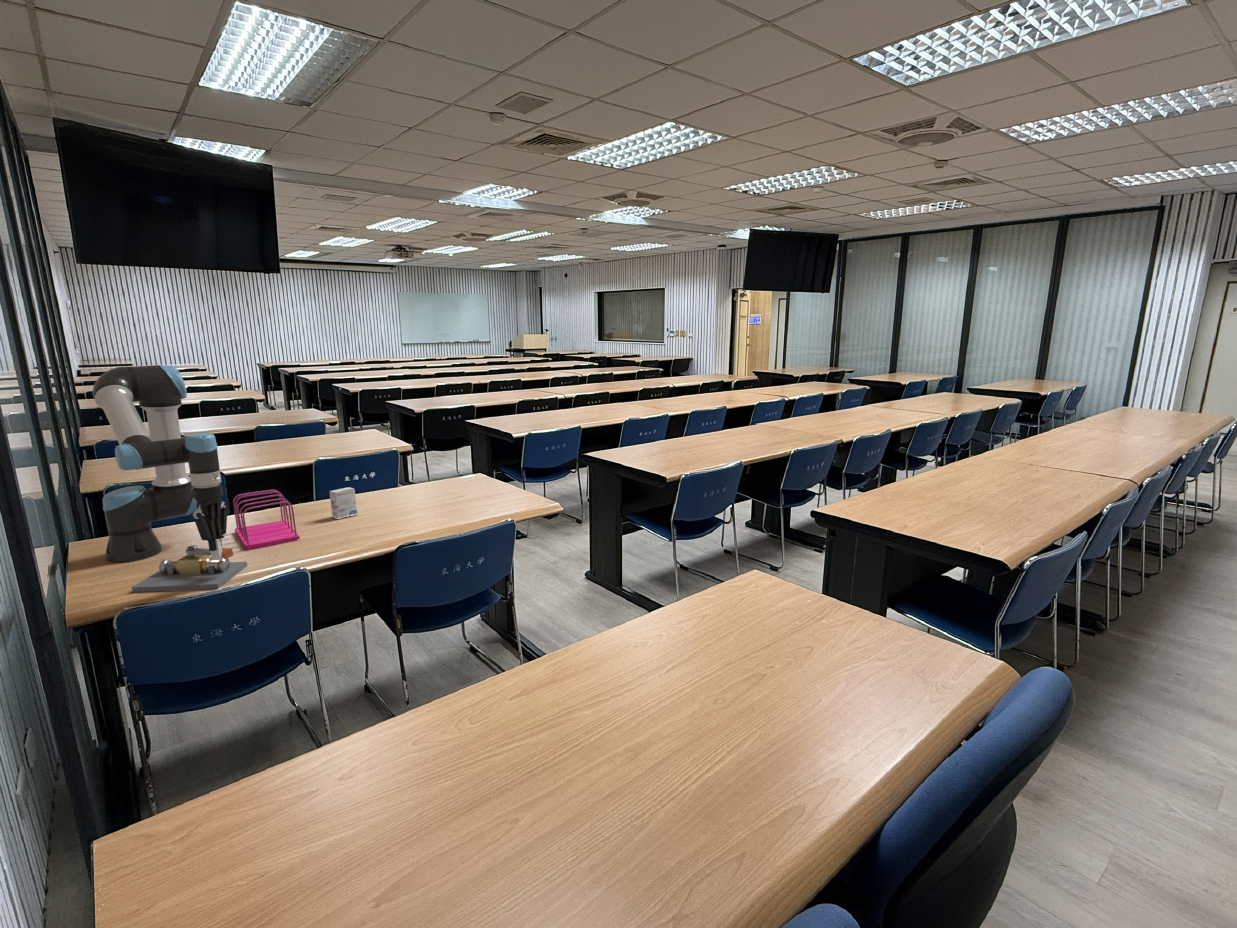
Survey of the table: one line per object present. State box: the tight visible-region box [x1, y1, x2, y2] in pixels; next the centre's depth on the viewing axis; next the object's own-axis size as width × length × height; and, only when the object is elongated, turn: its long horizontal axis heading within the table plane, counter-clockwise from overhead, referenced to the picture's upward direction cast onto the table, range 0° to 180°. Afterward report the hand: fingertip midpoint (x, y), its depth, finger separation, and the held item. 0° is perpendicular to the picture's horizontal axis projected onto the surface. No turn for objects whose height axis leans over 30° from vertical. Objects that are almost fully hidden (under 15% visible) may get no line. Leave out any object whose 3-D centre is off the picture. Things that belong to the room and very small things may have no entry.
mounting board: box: [131, 561, 248, 593], centre depth 189 cm, size 24×18×2 cm
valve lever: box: [185, 545, 234, 559], centre depth 189 cm, size 15×3×3 cm, turn 79°
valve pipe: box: [158, 554, 231, 576], centre depth 191 cm, size 18×6×6 cm, turn 96°
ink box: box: [328, 486, 358, 518], centre depth 251 cm, size 9×5×12 cm, turn 141°
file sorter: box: [232, 489, 301, 551], centre depth 227 cm, size 17×25×16 cm
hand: (217, 559), depth 186 cm, fingers closed
